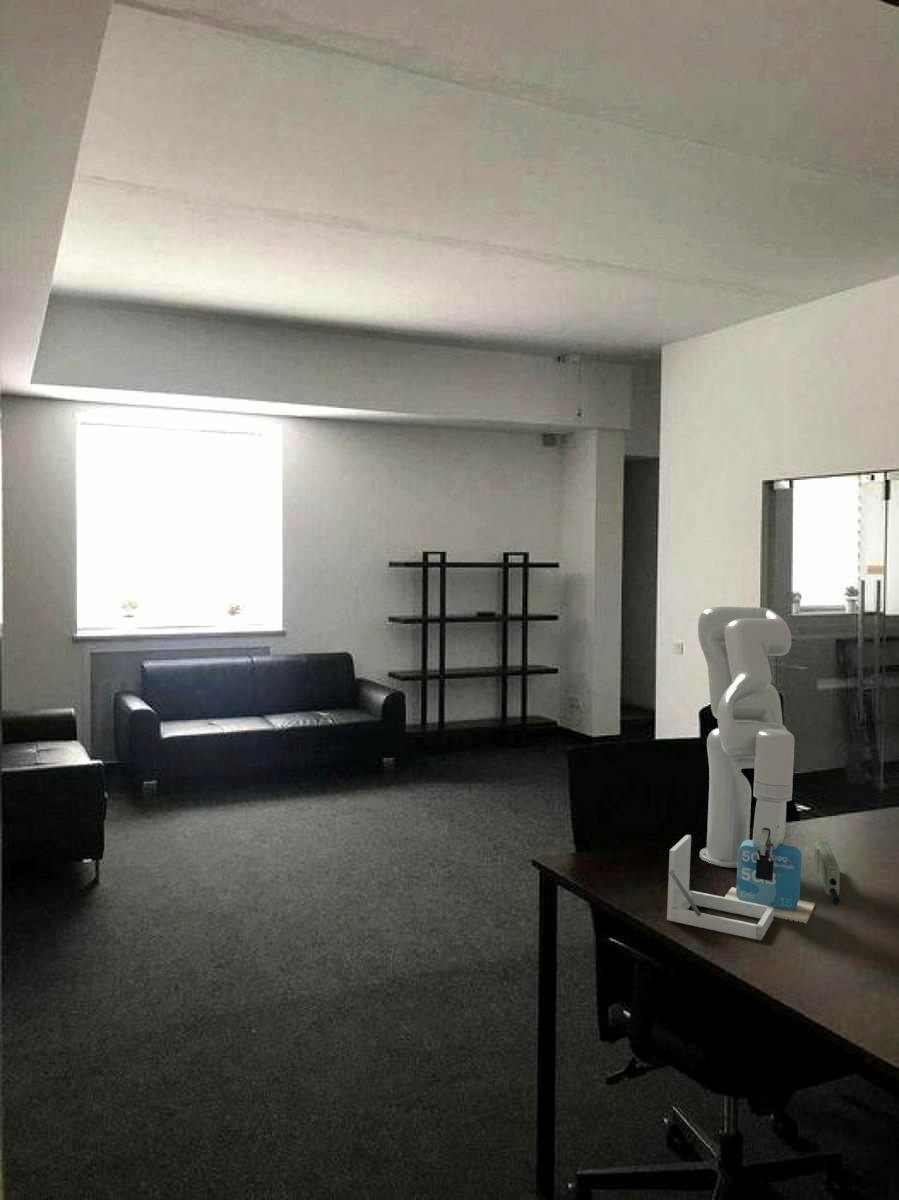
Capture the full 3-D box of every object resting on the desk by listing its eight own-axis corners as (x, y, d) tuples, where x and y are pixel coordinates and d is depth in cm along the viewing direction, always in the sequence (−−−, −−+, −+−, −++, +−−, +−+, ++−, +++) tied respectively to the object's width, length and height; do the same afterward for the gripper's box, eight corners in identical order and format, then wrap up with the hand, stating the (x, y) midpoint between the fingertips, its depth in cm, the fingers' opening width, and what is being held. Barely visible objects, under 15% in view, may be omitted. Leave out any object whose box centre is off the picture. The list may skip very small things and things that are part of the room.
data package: (735, 901, 199) (738, 844, 198) (739, 894, 203) (741, 838, 202) (796, 912, 194) (799, 853, 193) (799, 904, 198) (802, 847, 197)
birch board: (731, 889, 207) (731, 887, 207) (815, 905, 199) (815, 903, 199) (719, 905, 197) (719, 903, 197) (806, 923, 189) (806, 920, 189)
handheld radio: (828, 868, 223) (845, 907, 199) (813, 867, 224) (828, 905, 200) (829, 840, 223) (845, 875, 199) (813, 839, 224) (828, 874, 200)
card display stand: (683, 900, 200) (686, 834, 199) (773, 919, 191) (776, 850, 190) (665, 921, 188) (668, 851, 187) (760, 942, 180) (763, 868, 179)
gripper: (762, 779, 206) (758, 857, 207) (744, 796, 191) (741, 881, 192) (799, 784, 202) (795, 863, 203) (784, 802, 187) (780, 888, 188)
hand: (768, 872), depth 198 cm, fingers open, 9 cm apart
